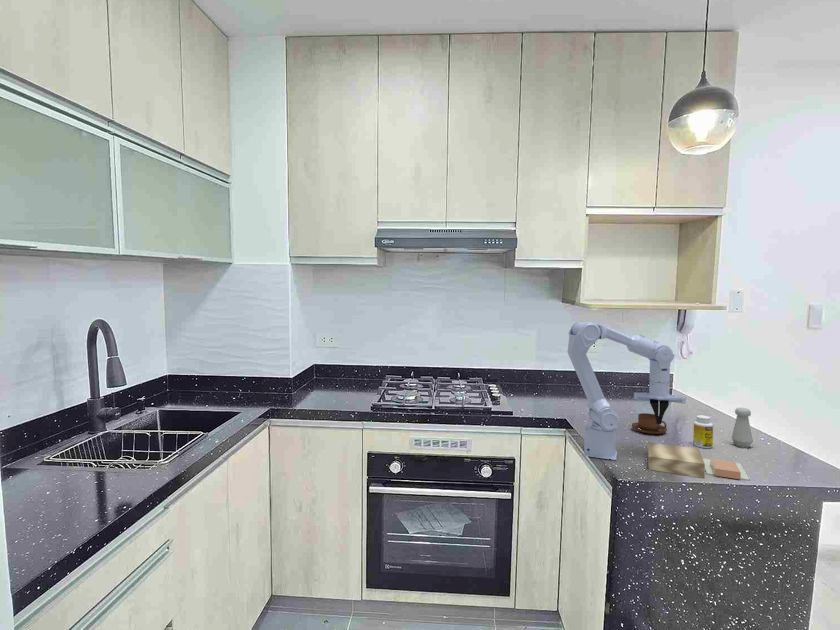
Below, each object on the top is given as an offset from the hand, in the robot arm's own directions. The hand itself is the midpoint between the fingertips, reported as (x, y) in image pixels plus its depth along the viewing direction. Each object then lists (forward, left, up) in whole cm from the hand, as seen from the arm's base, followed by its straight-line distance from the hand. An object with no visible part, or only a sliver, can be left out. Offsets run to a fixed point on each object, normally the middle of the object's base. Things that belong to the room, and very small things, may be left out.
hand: (658, 423), depth 141 cm
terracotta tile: (+17, -8, -8) cm, 20 cm away
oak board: (+4, -8, -10) cm, 14 cm away
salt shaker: (+26, +22, -11) cm, 36 cm away
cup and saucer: (-2, +27, -11) cm, 29 cm away
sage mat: (+17, -5, -10) cm, 21 cm away
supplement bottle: (+14, +16, -11) cm, 24 cm away
